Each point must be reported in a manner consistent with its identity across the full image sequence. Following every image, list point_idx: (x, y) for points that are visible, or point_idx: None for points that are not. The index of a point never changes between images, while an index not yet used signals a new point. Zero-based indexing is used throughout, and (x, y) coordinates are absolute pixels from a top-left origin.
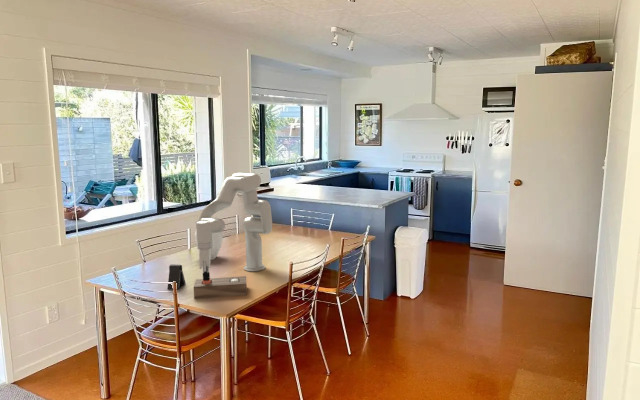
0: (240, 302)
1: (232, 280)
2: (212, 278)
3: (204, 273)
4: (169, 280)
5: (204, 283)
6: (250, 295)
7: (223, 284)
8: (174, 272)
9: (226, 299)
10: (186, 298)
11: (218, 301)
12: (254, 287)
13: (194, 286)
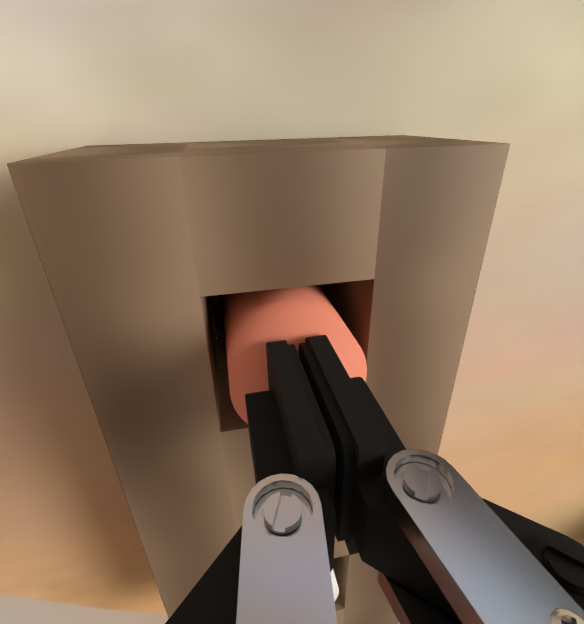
0: (20, 570)
1: None
2: (439, 397)
3: (258, 508)
4: None
5: (233, 340)
6: None
7: (169, 555)
8: None
9: (83, 475)
10: (81, 9)
11: (16, 429)
12: None
13: (44, 182)
